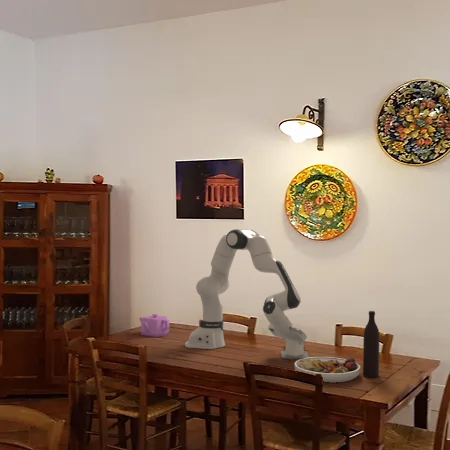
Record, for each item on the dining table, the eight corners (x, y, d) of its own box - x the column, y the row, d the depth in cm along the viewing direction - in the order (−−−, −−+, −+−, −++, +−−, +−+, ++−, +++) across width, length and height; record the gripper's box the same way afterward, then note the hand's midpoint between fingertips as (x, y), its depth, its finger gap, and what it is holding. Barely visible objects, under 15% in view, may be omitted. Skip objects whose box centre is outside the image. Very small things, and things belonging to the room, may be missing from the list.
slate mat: (282, 358, 310) (282, 353, 310) (280, 352, 324) (280, 346, 324) (309, 359, 309) (309, 353, 309) (306, 352, 323) (306, 347, 323)
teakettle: (170, 336, 361) (170, 316, 360) (142, 338, 357) (142, 317, 356) (166, 331, 377) (166, 311, 377) (139, 332, 373) (139, 312, 373)
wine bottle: (376, 373, 283) (377, 310, 282) (380, 378, 276) (381, 312, 275) (361, 373, 283) (362, 310, 282) (365, 378, 276) (366, 312, 275)
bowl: (310, 387, 263) (310, 369, 262) (284, 369, 292) (285, 352, 291) (372, 382, 271) (372, 364, 270) (341, 365, 300) (342, 349, 299)
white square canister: (295, 356, 312) (295, 336, 311) (285, 354, 317) (285, 334, 316) (303, 354, 316) (303, 334, 316) (293, 352, 321) (293, 332, 321)
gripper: (301, 324, 303) (313, 340, 311) (271, 318, 318) (282, 334, 325) (296, 334, 300) (308, 350, 308) (265, 328, 315) (277, 343, 322)
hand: (294, 342), depth 317 cm, fingers open, 8 cm apart
